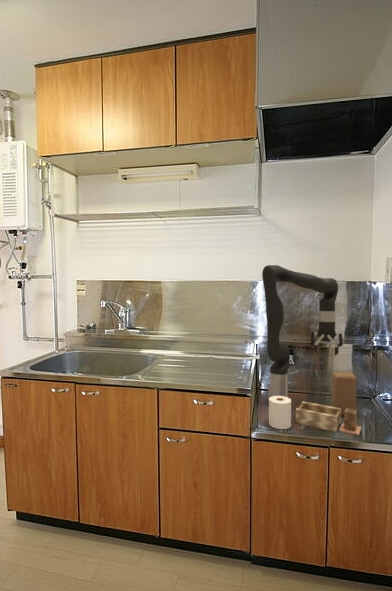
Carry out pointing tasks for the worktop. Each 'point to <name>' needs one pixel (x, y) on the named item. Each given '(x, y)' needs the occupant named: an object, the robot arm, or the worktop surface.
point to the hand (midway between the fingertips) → (326, 353)
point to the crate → (318, 416)
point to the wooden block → (343, 391)
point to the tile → (349, 430)
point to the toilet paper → (280, 412)
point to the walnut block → (350, 419)
